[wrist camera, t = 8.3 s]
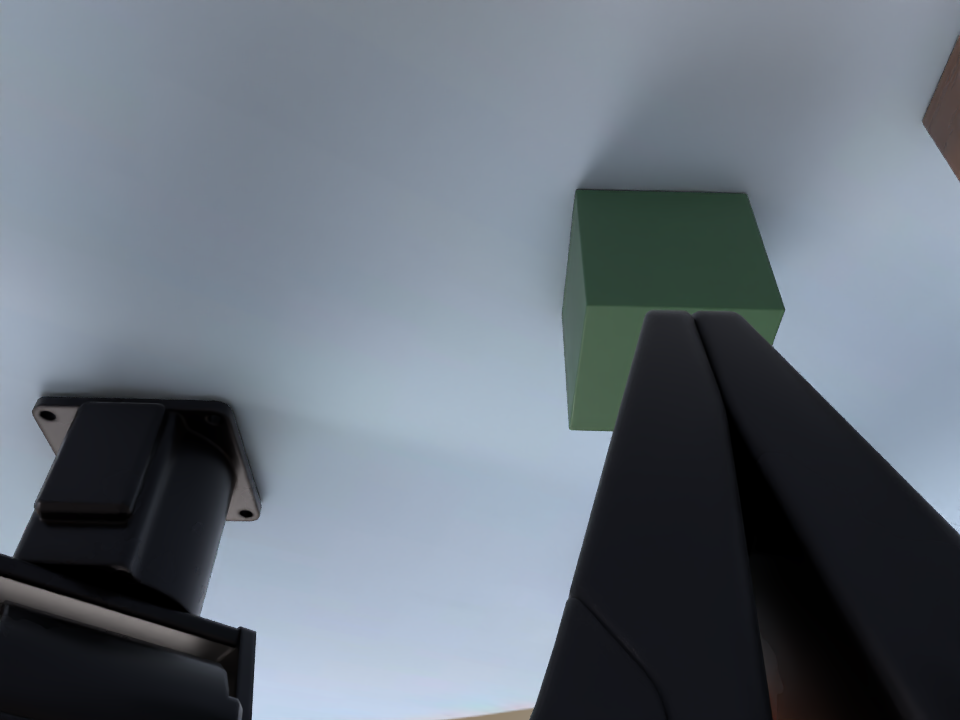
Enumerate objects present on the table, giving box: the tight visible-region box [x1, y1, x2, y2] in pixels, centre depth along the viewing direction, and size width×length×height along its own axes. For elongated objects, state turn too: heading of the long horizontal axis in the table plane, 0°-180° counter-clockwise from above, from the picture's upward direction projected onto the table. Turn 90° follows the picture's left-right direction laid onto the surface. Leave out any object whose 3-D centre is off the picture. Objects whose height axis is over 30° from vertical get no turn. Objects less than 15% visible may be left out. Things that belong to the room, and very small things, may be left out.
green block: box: [562, 190, 785, 431], centre depth 22 cm, size 4×4×4 cm
